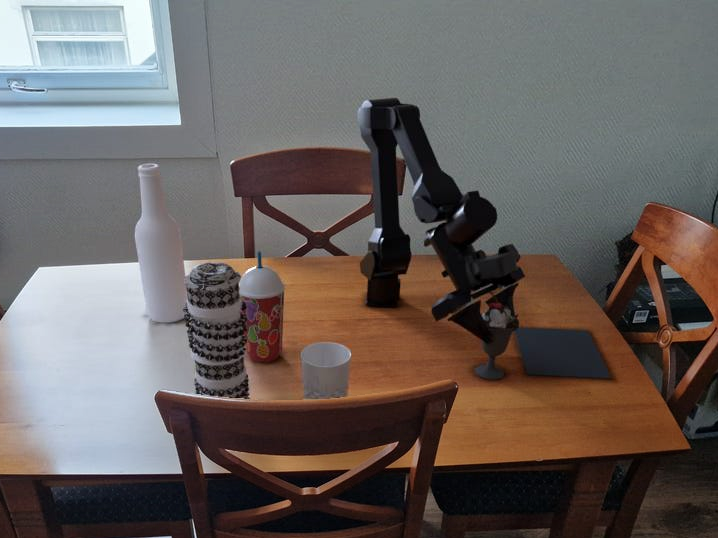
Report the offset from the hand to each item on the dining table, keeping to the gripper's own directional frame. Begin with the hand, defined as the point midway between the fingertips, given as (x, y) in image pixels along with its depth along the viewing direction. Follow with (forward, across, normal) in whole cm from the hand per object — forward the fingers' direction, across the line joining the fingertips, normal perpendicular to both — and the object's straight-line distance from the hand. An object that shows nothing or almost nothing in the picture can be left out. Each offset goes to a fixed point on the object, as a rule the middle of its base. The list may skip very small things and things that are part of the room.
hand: (502, 336), depth 110 cm
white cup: (-3, -29, +14) cm, 32 cm away
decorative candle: (-10, -42, +21) cm, 48 cm away
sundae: (+4, 0, +6) cm, 8 cm away
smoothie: (-18, -26, +29) cm, 42 cm away
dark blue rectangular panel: (+7, +16, +4) cm, 18 cm away
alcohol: (-37, -30, +48) cm, 67 cm away
